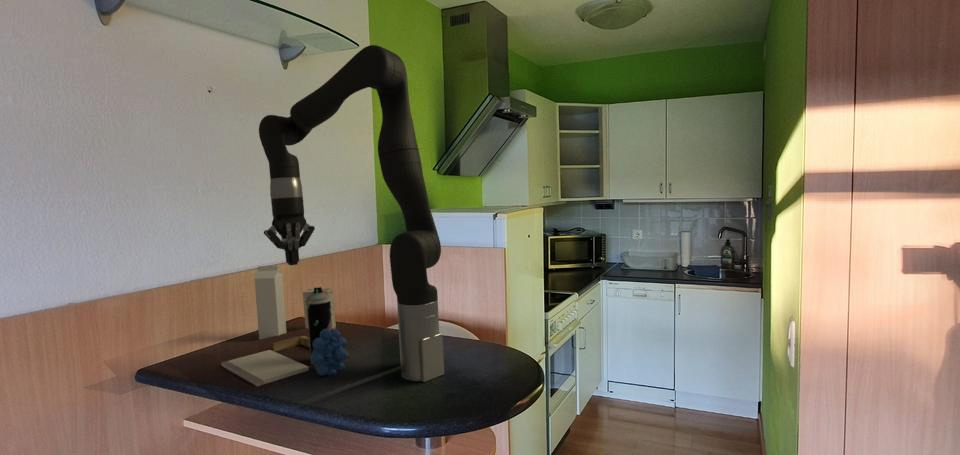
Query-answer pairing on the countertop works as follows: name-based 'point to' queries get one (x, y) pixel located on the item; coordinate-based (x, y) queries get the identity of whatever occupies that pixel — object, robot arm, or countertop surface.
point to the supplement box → (330, 292)
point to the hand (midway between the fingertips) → (293, 264)
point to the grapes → (329, 352)
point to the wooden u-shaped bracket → (294, 344)
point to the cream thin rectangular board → (264, 367)
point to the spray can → (318, 315)
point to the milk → (270, 302)
